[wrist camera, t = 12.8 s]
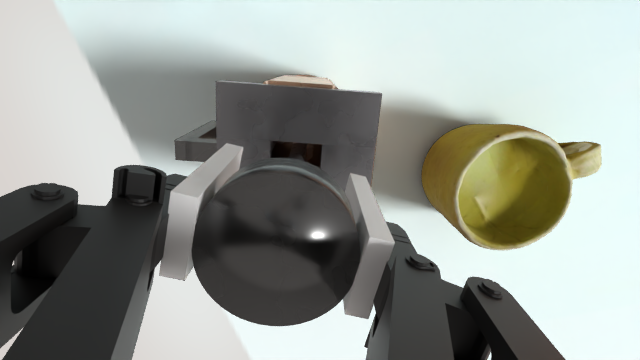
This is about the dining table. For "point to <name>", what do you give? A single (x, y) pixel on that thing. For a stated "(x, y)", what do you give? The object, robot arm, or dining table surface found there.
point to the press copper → (291, 123)
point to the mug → (504, 181)
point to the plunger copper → (278, 239)
